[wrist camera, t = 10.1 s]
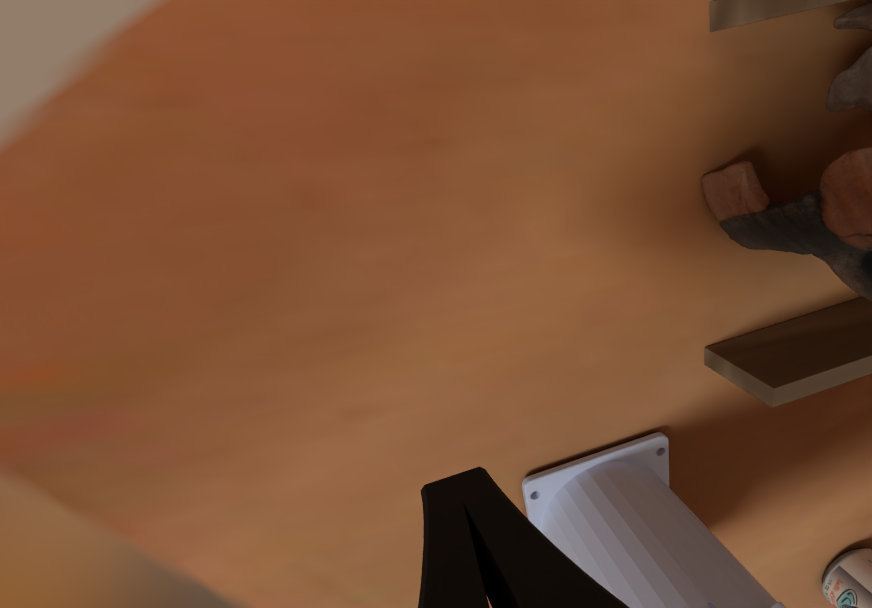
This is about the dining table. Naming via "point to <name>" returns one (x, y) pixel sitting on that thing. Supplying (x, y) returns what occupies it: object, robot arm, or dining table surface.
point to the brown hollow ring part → (815, 210)
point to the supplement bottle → (849, 580)
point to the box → (804, 336)
